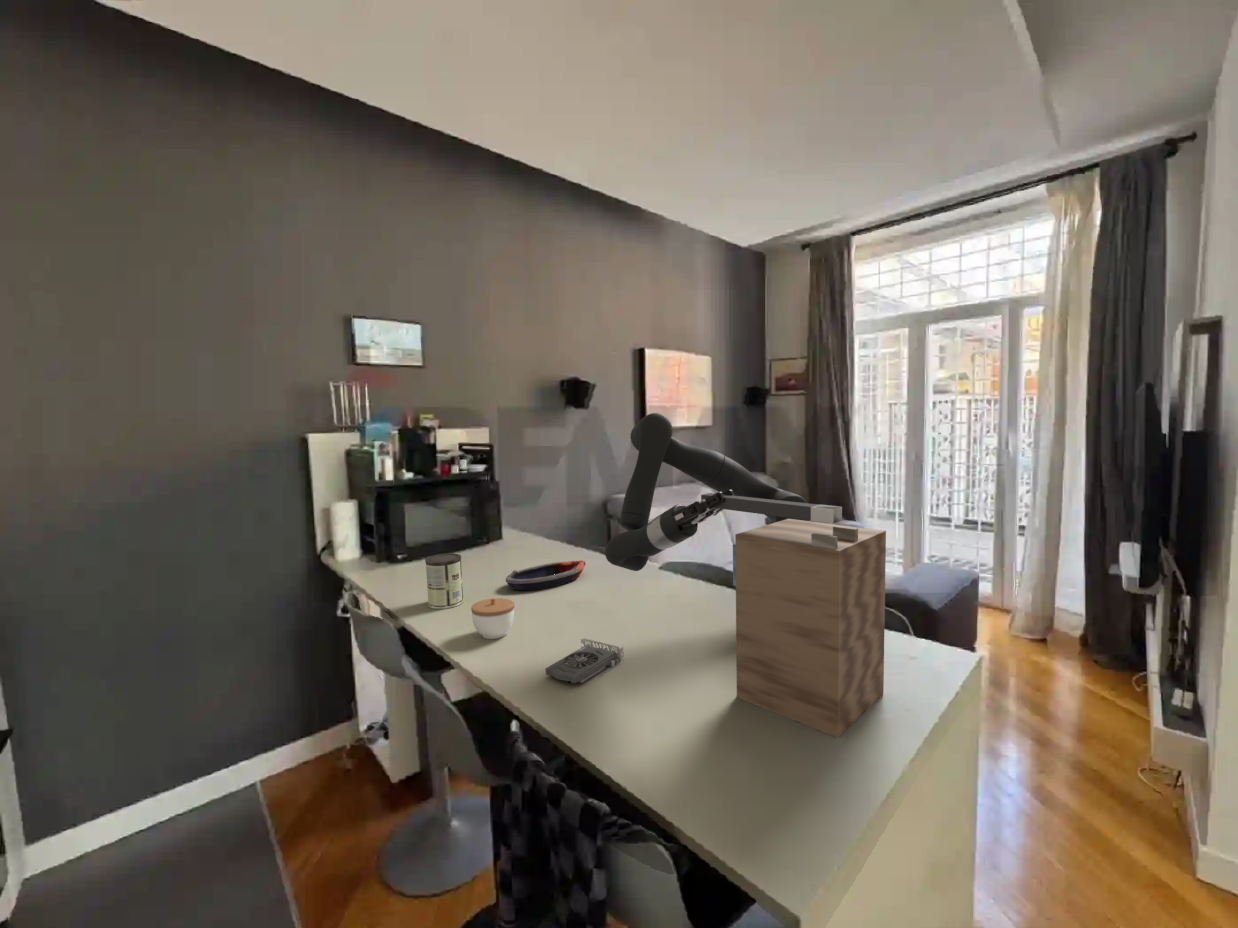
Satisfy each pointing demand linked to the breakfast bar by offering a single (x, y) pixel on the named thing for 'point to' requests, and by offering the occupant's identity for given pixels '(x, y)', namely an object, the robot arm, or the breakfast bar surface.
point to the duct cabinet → (810, 620)
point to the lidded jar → (493, 617)
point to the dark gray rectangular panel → (781, 508)
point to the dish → (545, 575)
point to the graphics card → (586, 662)
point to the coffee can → (444, 581)
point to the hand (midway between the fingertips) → (727, 495)
